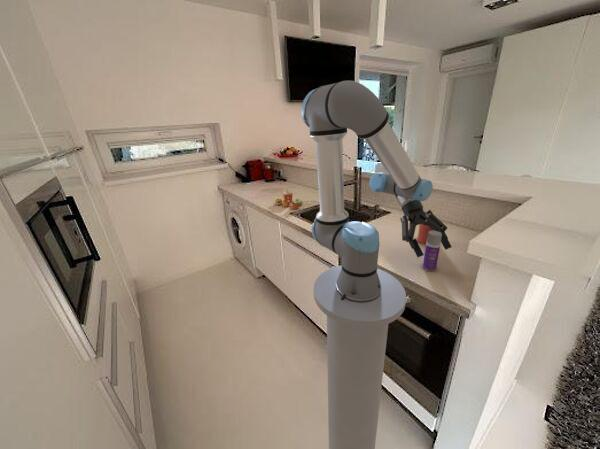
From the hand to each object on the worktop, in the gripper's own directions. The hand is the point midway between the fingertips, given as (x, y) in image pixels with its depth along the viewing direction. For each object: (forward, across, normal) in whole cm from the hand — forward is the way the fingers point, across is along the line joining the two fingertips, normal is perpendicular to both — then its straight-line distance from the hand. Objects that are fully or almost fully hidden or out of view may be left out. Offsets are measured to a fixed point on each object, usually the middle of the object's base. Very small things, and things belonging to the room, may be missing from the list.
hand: (434, 252), depth 92 cm
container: (+5, 0, -6) cm, 8 cm away
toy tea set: (-70, +23, -80) cm, 109 cm away
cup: (-8, -17, -19) cm, 27 cm away
